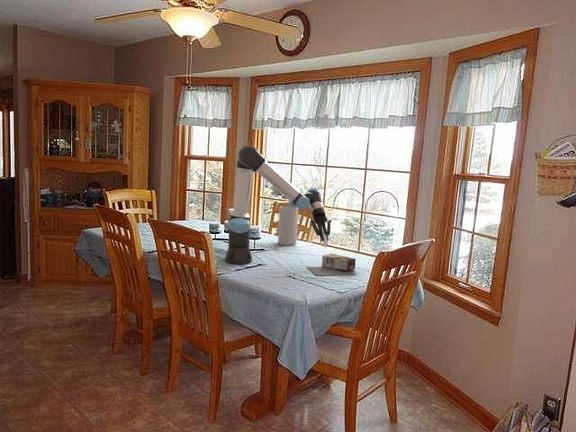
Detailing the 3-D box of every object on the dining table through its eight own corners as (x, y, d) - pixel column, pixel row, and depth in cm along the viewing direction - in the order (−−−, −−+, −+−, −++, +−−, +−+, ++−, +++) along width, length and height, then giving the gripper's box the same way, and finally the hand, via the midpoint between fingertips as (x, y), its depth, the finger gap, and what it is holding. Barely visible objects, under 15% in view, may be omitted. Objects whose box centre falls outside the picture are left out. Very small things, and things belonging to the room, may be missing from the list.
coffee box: (321, 266, 245) (346, 272, 236) (322, 255, 244) (347, 261, 235) (330, 263, 253) (355, 269, 243) (331, 252, 252) (356, 258, 242)
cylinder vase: (297, 242, 306) (299, 206, 302) (294, 246, 294) (296, 209, 290) (279, 241, 308) (281, 205, 304) (276, 244, 296) (278, 207, 292)
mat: (316, 276, 228) (316, 275, 228) (306, 267, 243) (306, 266, 243) (355, 274, 234) (355, 274, 234) (343, 266, 249) (343, 265, 249)
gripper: (326, 215, 263) (335, 248, 250) (305, 214, 260) (313, 249, 247) (330, 207, 258) (339, 241, 244) (309, 207, 254) (316, 242, 241)
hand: (326, 245), depth 245 cm, fingers closed
